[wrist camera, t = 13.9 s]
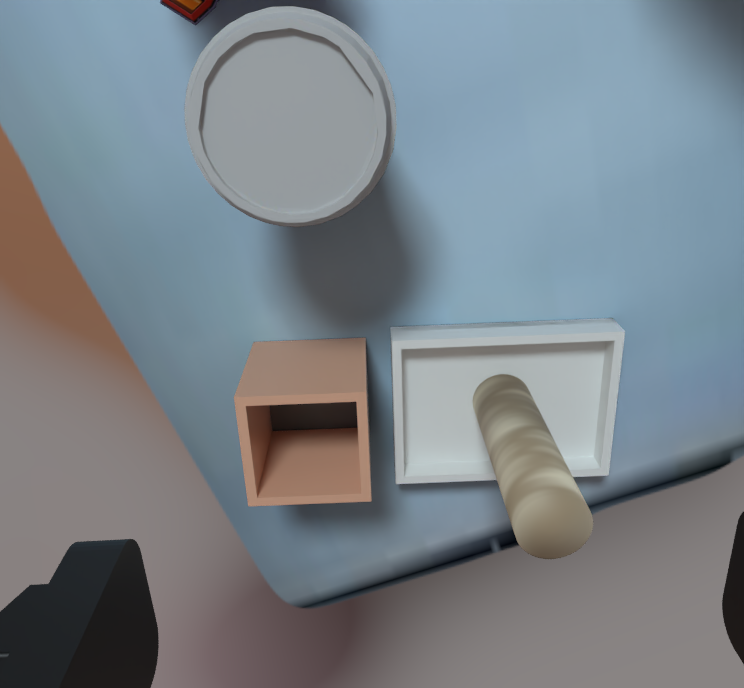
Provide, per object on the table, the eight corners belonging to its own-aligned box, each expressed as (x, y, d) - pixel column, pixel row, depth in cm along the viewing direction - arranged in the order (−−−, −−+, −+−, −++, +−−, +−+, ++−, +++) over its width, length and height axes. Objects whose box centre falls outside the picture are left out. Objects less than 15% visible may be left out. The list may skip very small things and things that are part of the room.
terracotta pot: (365, 337, 47) (366, 391, 40) (369, 434, 50) (371, 501, 43) (253, 342, 47) (233, 397, 40) (264, 438, 50) (248, 506, 43)
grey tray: (612, 318, 47) (625, 331, 45) (597, 457, 51) (608, 475, 49) (390, 326, 47) (391, 341, 45) (394, 465, 52) (395, 484, 49)
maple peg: (531, 372, 48) (596, 493, 35) (528, 424, 49) (589, 557, 36) (473, 375, 48) (516, 496, 35) (471, 426, 49) (513, 560, 36)
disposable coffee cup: (396, 173, 43) (409, 218, 32) (244, 193, 43) (205, 246, 32) (376, 2, 39) (383, -12, 28) (210, 27, 40) (152, 22, 29)
